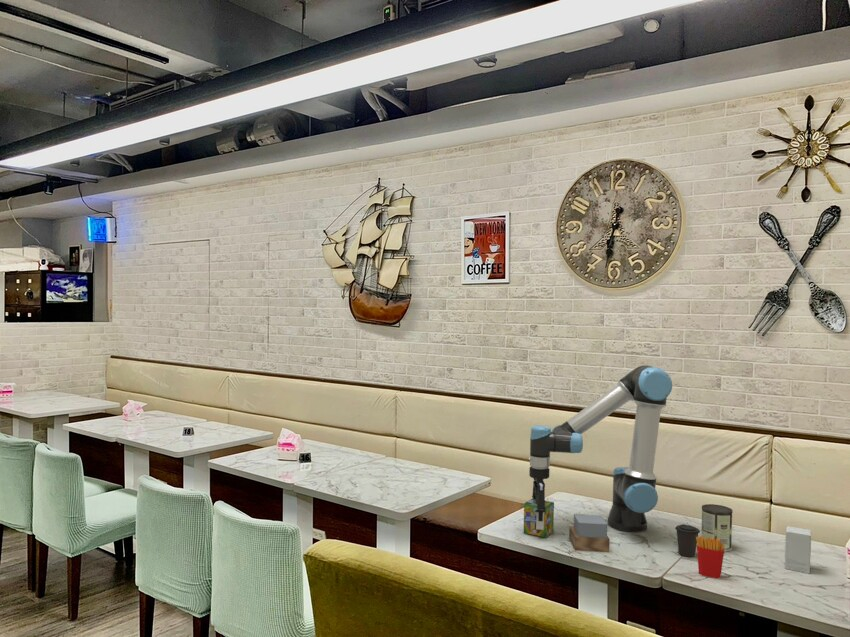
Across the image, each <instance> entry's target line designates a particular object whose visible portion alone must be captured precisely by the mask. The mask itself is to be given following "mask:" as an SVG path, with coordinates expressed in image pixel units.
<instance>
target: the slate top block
mask: <svg viewBox="0 0 850 637" xmlns="http://www.w3.org/2000/svg"><path fill="white" fill-rule="evenodd" d="M573 526H574V529H575V531H576V533H577V535H578V537H589V538H607V536H608V526H609V525H608V522H607V521H606V520H605V519H604V516H602V515H601V514H599V515H598V514H582V513H579V514H578V513H574V514H573Z"/></svg>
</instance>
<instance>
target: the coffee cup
mask: <svg viewBox="0 0 850 637" xmlns="http://www.w3.org/2000/svg"><path fill="white" fill-rule="evenodd" d="M674 529H675V530H676V540H677V550H678V551H677V552H678V555H679V556H680V557H683V558H688V559H693V558H695V557H696V554H697V540H696V537H698V538H699V533H701V530H700V529H699V528H698V527H695V526H694V525H693V526H692V525H689V524H685V523H684V524H678V525H676V526H675V528H674Z"/></svg>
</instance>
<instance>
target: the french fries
mask: <svg viewBox="0 0 850 637" xmlns="http://www.w3.org/2000/svg"><path fill="white" fill-rule="evenodd" d="M696 540H697V547H696V555H697V568H698V574H699V575H700V576H704V577H706V578H713V579H720V578H721V576H722V571H723V570H722V569H723V562H724V554H725V552H724V549H723V547H724V542H722V543H720V540H719V539H716V541H715V539H711V538H709V537H707V539H704V538H703V537H702V536H701V535H700V536H698V537H696Z"/></svg>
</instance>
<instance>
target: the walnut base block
mask: <svg viewBox="0 0 850 637" xmlns="http://www.w3.org/2000/svg"><path fill="white" fill-rule="evenodd" d="M568 529H569V530H568V532H569V534H568V539H569V541H570V543H571V546H572V547H573V550H574V551H576V552H577V551H581V552H595V553H596V552H598V553H610V544H611V543H610V537H609V535H607V538H589V537H578V535H577V533H576V531H575V529H574V525H569V528H568Z"/></svg>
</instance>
